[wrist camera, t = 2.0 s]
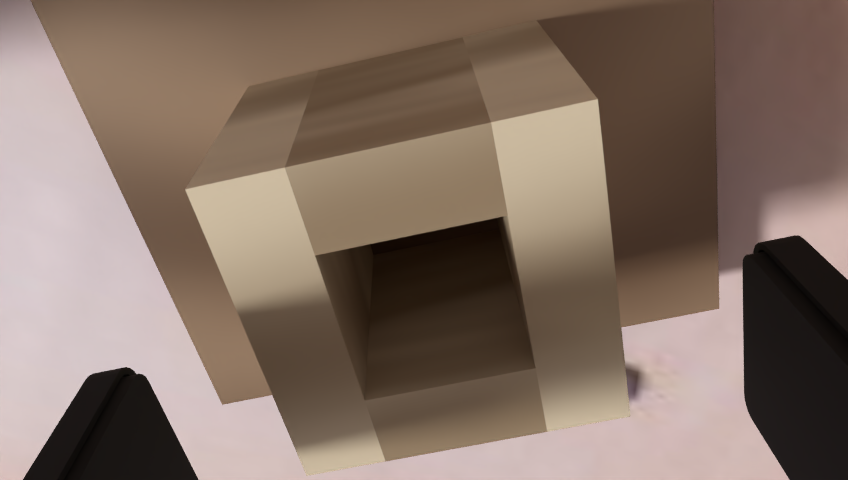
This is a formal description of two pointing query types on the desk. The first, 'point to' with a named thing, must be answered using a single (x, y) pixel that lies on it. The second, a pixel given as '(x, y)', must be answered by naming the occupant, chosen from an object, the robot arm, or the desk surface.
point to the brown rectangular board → (372, 37)
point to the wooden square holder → (421, 248)
